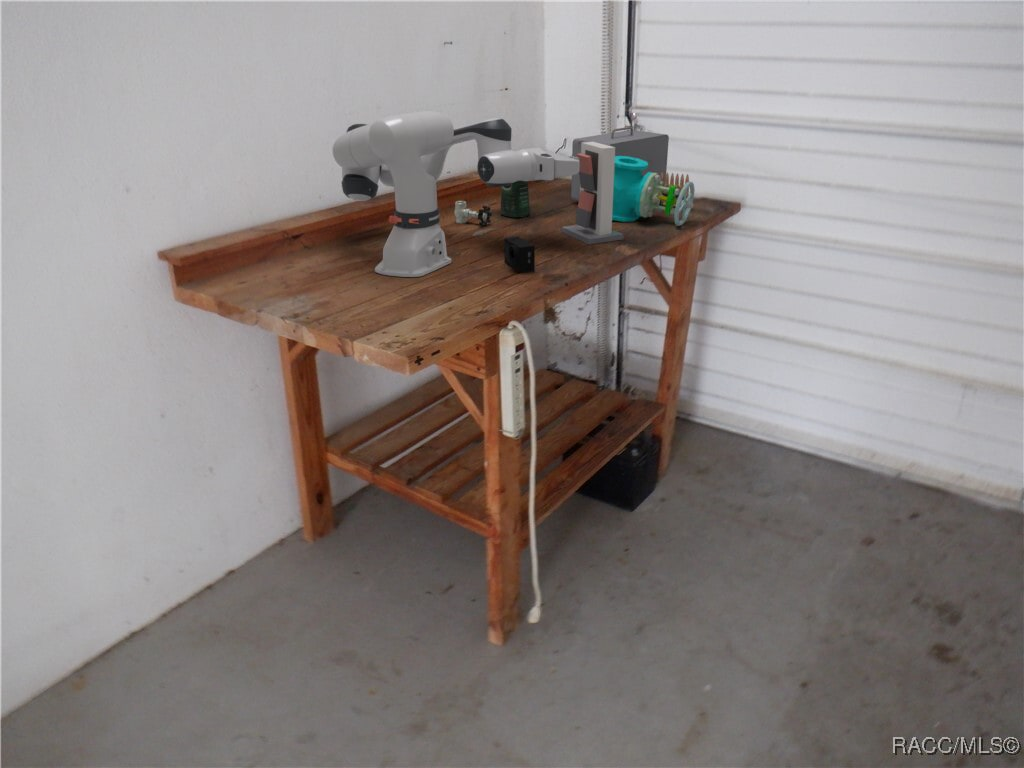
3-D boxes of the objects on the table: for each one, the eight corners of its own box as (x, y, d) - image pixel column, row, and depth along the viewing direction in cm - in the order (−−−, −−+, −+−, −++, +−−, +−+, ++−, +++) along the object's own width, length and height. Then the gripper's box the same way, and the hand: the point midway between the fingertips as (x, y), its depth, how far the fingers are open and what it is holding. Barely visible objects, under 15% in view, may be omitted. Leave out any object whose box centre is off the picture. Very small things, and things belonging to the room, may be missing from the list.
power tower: (594, 227, 256) (598, 139, 244) (623, 239, 243) (628, 147, 231) (561, 231, 251) (563, 143, 239) (588, 244, 238) (591, 151, 227)
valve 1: (449, 223, 262) (480, 228, 256) (449, 203, 259) (479, 207, 253) (462, 219, 267) (492, 224, 261) (461, 199, 264) (491, 203, 258)
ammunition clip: (688, 209, 276) (691, 174, 271) (686, 211, 274) (689, 175, 269) (658, 206, 281) (660, 171, 276) (656, 207, 279) (658, 172, 274)
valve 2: (618, 153, 266) (706, 173, 254) (610, 206, 275) (694, 228, 263) (600, 160, 255) (691, 181, 243) (592, 215, 264) (679, 238, 252)
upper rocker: (584, 186, 242) (580, 153, 238) (594, 190, 238) (590, 156, 233) (580, 187, 242) (576, 154, 237) (591, 191, 237) (587, 157, 232)
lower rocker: (578, 223, 247) (584, 190, 243) (588, 228, 242) (594, 194, 238) (574, 223, 246) (580, 190, 242) (585, 228, 241) (591, 194, 238)
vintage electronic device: (625, 189, 306) (629, 120, 295) (664, 197, 293) (669, 125, 283) (566, 203, 286) (568, 129, 276) (605, 212, 274) (609, 135, 263)
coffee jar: (533, 215, 270) (534, 158, 262) (516, 219, 265) (516, 161, 257) (513, 210, 276) (513, 154, 269) (496, 214, 272) (495, 157, 264)
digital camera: (500, 263, 222) (499, 238, 219) (518, 260, 224) (518, 235, 221) (515, 273, 213) (515, 247, 210) (534, 271, 215) (534, 245, 212)
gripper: (517, 169, 239) (558, 165, 244) (551, 181, 222) (594, 177, 228) (517, 147, 236) (559, 143, 242) (552, 158, 220) (595, 154, 225)
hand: (576, 159), depth 235 cm, fingers closed
